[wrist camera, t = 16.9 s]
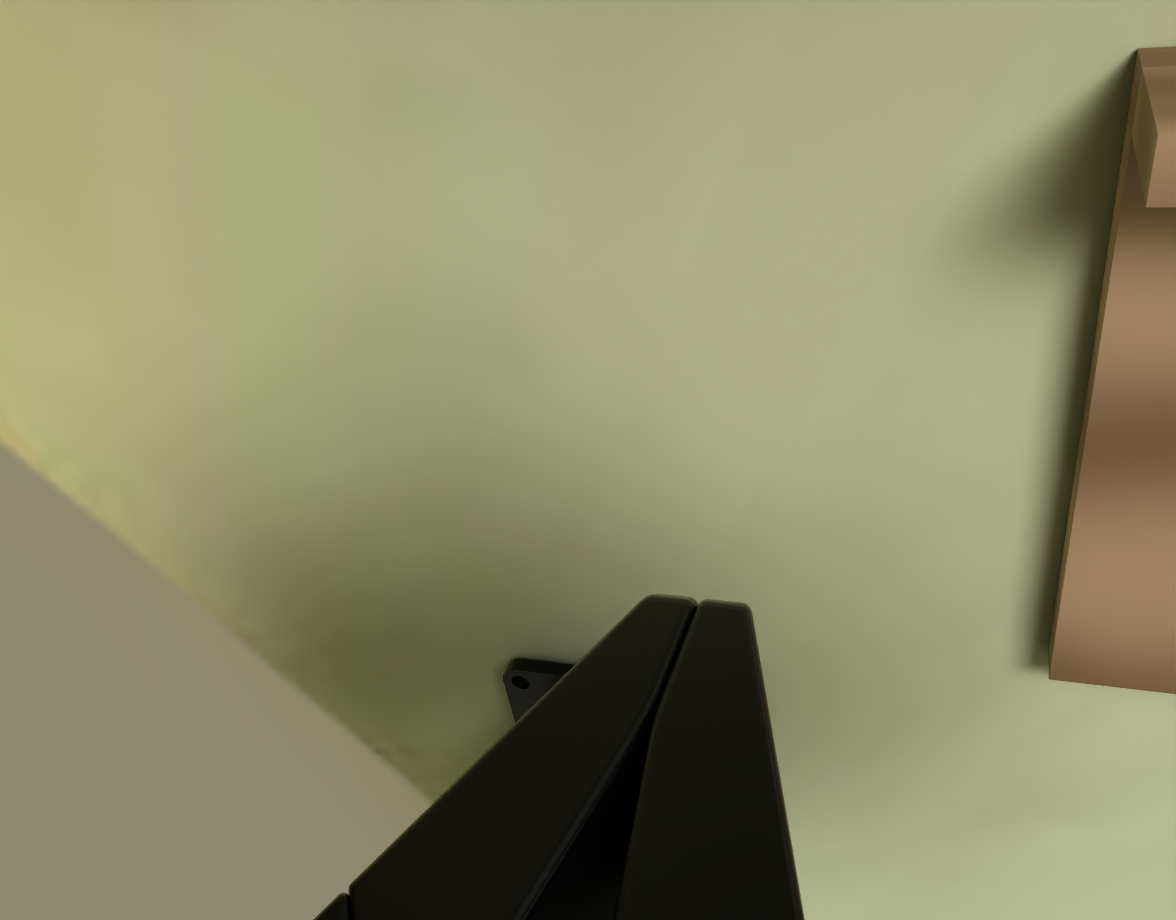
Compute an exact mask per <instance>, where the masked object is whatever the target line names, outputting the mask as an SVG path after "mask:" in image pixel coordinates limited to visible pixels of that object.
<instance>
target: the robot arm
mask: <svg viewBox="0 0 1176 920" xmlns="http://www.w3.org/2000/svg"><path fill="white" fill-rule="evenodd" d="M503 681H504V685H505V688H506V691H507V695H508V698H509V702H510V705H511V709H512V712H513V716H514V719H515V722H516V723H515V724H514V725H513V726H512V727H511V728H510V729H509V730H508V731H507V732H506V733H505V734H504V735H503V736H502V737H501V738H500V739H499V740H498V741H497V742H496V743H495V744H494V745H493V746H492V747H491V748H489V749H488V750H487V751H486V752H485V753H484V754H483V755H482V756H481V757H480V758H479V759H478V760H477V761H476V762H475V763H474V764H473V765H472V766H471V767H470V768H469V769H468V770H467V771H466V772H465V773H464V774H463V775H462V776H461V777H460V778H459V779H458V780H457V781H456V782H455V783H454V784H453V785H452V786H451V787H450V788H449V789H447V790H446V791H445V792H444V793H443V794H442V795H441V796H440V797H439V798H438V799H437V800H436V801H435V802H434V803H433V804H432V805H431V806H430V807H429V808H428V809H427V810H426V811H425V812H424V813H423V814H422V815H421V816H420V817H419V818H418V819H417V820H416V821H415V822H414V823H413V824H412V825H411V826H410V827H409V828H408V829H407V830H405V832H403V833H402V834H401V835H400V836H399V837H398V838H397V839H396V840H395V841H394V842H393V843H392V844H391V845H390V846H389V847H388V848H387V849H386V850H385V851H384V852H383V853H382V854H381V855H380V856H379V857H378V858H377V859H376V860H375V861H374V862H373V863H372V864H371V865H370V866H369V867H368V868H367V869H365V870H364V871H363V872H362V874H360V875H359V876H358V877H357V878H356V879H355V880H354V881H353V882H352V883H351V884H350V886H349V895H348V894H346V893H341V894H339V895H338V897H336V898H335V899H334V900H333V901H332V902H331V903H330V904H329V905H328V906H327V907H326V908H325V909H324V910H323V911H322V912H321V913H320V914H319V915H318V916H317V917H316V918H315V919H314V920H805V919H804V913H803V907H802V902H801V896H800V890H799V884H798V878H797V872H796V867H795V861H794V855H793V849H792V843H791V837H790V832H789V826H788V820H787V814H786V808H785V802H784V797H783V791H782V785H781V779H780V773H779V767H778V762H777V756H776V750H775V744H774V738H773V732H772V727H771V721H770V715H769V709H768V703H767V697H766V692H765V686H764V680H763V674H762V668H761V662H760V657H759V651H758V645H757V639H756V633H755V627H754V622H753V616H752V611H751V608H750V607H749V606H748V605H747V604H745V603H739V602H730V601H720V600H710V599H706V600H703V601H702V602H700V603H699V604H698V602H697V601H696V600H695V599H693V598H691V597H682V596H672V595H662V594H651V595H649V596H647V597H645V598H644V599H642V600H641V601H640V602H639V603H638V604H637V605H636V606H635V607H634V608H633V609H632V610H631V611H630V612H629V613H628V614H627V615H626V616H625V617H624V618H623V619H622V620H621V621H620V622H619V623H618V624H617V625H616V626H615V627H614V628H612V629H611V630H610V631H609V632H608V633H607V634H606V635H605V636H604V637H603V638H602V639H601V640H600V641H599V642H598V643H597V644H596V645H595V646H594V647H593V648H592V649H591V650H590V651H589V652H588V653H587V654H586V655H585V656H584V657H583V658H582V659H581V660H580V661H579V662H578V663H577V664H576V665H568V664H561V663H553V662H545V661H537V660H530V659H514V660H511V661H510V663H509V664H508V666H507V668H506V670H505V673H504V675H503Z"/></svg>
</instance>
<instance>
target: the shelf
mask: <svg viewBox="0 0 1176 920" xmlns="http://www.w3.org/2000/svg"><path fill="white" fill-rule="evenodd" d="M1048 663H1049V679H1051V680H1060V681H1068V682H1077V683H1085V684H1094V685H1103V686H1111V687H1120V688H1128V689H1137V690H1146V691H1154V692H1163V693H1171V694H1176V47H1159V48H1139V49H1137V56H1136V63H1135V70H1134V76H1133V83H1132V90H1131V97H1130V103H1129V110H1128V117H1127V124H1126V130H1125V137H1124V144H1123V150H1122V157H1121V164H1120V171H1119V177H1118V184H1117V191H1116V198H1115V204H1114V211H1113V218H1112V225H1111V231H1110V238H1109V245H1108V252H1107V258H1106V265H1105V272H1104V278H1103V285H1102V292H1101V299H1100V305H1099V312H1098V319H1097V326H1096V332H1095V339H1094V346H1093V353H1092V359H1091V366H1090V373H1089V380H1088V386H1087V393H1086V400H1085V407H1084V413H1083V420H1082V427H1081V433H1080V440H1079V447H1078V454H1077V460H1076V467H1075V474H1074V481H1073V487H1072V494H1071V501H1070V508H1069V514H1068V521H1067V528H1066V535H1065V541H1064V548H1063V555H1062V562H1061V568H1060V575H1059V582H1058V588H1057V595H1056V602H1055V609H1054V615H1053V622H1052V629H1051V636H1050V642H1049V649H1048Z"/></svg>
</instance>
